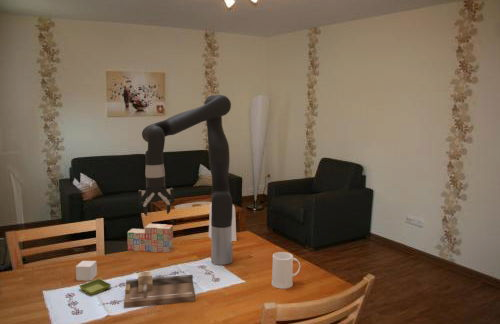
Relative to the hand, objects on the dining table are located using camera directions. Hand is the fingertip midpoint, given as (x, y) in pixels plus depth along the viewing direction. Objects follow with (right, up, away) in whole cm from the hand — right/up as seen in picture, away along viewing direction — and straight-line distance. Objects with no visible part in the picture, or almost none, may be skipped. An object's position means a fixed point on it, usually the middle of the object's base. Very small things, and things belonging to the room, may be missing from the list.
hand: (157, 214), depth 163 cm
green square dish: (-22, -28, -9) cm, 37 cm away
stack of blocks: (-11, -22, +34) cm, 42 cm away
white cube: (-29, -27, +2) cm, 40 cm away
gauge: (-1, -27, -15) cm, 31 cm away
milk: (+23, -20, +50) cm, 59 cm away
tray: (+4, -29, -14) cm, 32 cm away
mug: (+53, -28, -2) cm, 60 cm away
